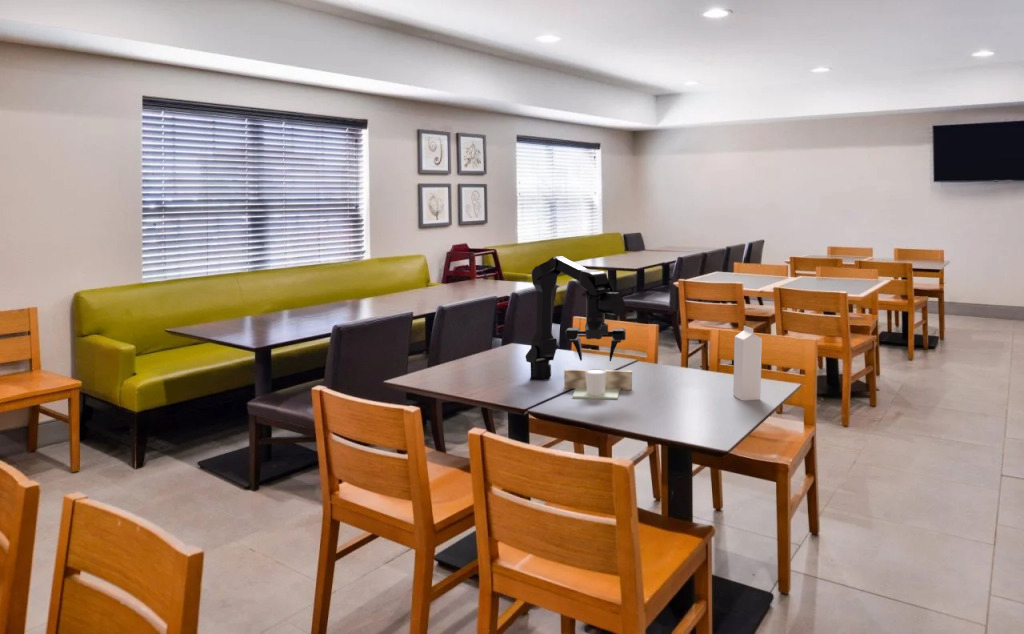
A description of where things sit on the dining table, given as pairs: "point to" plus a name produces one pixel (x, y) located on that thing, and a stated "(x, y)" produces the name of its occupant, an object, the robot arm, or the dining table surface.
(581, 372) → the board
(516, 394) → the dining table surface
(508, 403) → the dining table surface
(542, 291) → the robot arm
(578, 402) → the dining table surface
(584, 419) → the dining table surface
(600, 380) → the white cup
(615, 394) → the pad
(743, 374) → the milk
